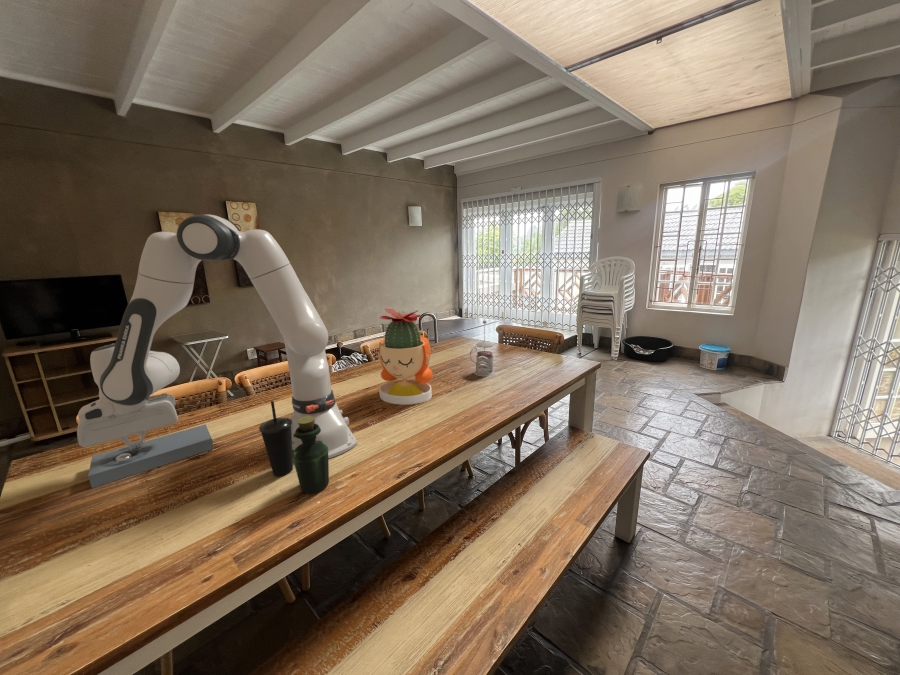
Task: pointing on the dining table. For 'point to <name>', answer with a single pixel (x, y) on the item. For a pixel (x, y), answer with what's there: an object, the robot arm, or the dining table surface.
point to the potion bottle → (311, 457)
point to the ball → (123, 456)
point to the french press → (483, 369)
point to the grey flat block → (149, 455)
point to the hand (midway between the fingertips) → (137, 448)
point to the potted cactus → (404, 361)
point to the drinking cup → (278, 443)
